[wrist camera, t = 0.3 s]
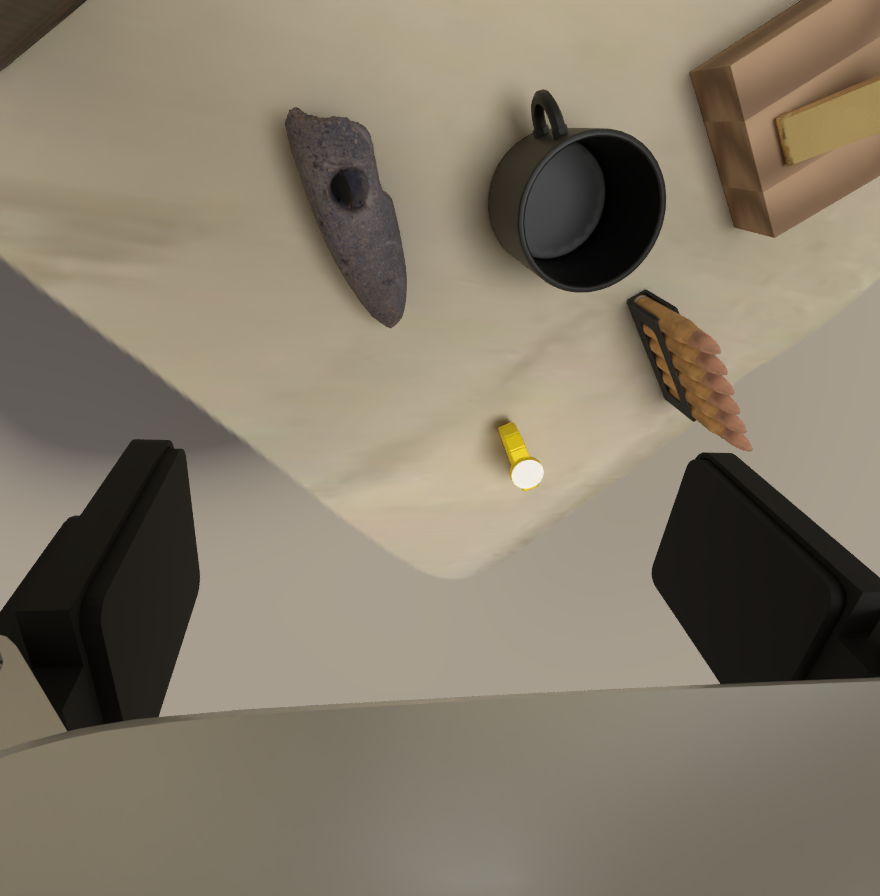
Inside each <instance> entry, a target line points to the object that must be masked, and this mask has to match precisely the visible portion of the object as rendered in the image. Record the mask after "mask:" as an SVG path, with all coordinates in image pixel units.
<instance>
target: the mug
mask: <svg viewBox="0 0 880 896" xmlns="http://www.w3.org/2000/svg"><path fill="white" fill-rule="evenodd" d="M544 110H545V112H546V114H547V116H548V118H549V121H550V124H551V127H552V128H551V129H549V127H548V125H546V121H545V115H544ZM531 113H532V121H533V126H534V131H533V134H531V135H529V136H527V137H525V138H524V139H522V140H521V141H520V142H518V143H517V144H516V145H515V146H514V147H513V148H512V149H511V150H510V151H509V152H508V153H507V154H506V155H505V157H504V158H503V160H502V161H501V163H500V164H499V166H498V168H497V170H496V172H495V175H494V177H493V180H492V183H491V188H490V193H489V216H490V221H491V225H492V228H493V231H494V233H495V235H496V237H497V239H498V240H499V242H500V244H501V245H502V246H503V247H504V248H505V250H506V251H507V252H508V253H510V254H511V255H512V256H513V257H515V258H516V259H517V260H519V261H520V262H521V263H522V264H524V265H525V266H526V267H527V268H529V269H530V270H531V271H533V272H534V273H535V274H536V275H538V276H539V277H540V278H542V279H543V280H544V281H545V282H547V283H549V284H550V285H552V286H554V287H556V288H559V289H562V290H565V291H570V292H592V291H597V290H601V289H604V288H607V287H610V286H612V285H614V284H615V283H617V282H619V281H621V280H622V279H624V278H625V277H627V276H628V275H630V274H631V273H632V272H633V271H634V270H635V269H636V268H637V267H638V266H639V265H640V264H641V263H642V262H643V260H644V259H645V258H646V257H647V255H648V254H649V252H650V251H651V249H652V248H653V246H654V244H655V242H656V240H657V238H658V236H659V233H660V230H661V227H662V224H663V220H664V215H665V210H666V190H665V183H664V179H663V175H662V172H661V169H660V167H659V165H658V162H657V161H656V159H655V158H654V156H653V155H652V153H651V152H650V151H649V149H648V148H647V147H646V146H645V145H644V144H643V143H642V142H640V141H639V140H637V139H636V138H634V137H633V136H631V135H629V134H627V133H624V132H622V131H618V130H613V129H600V128H567V125H565V123H564V120H563V116H562V114H561V111H560V109H559V106H558V104H557V103H556V101H555V99H554V98H553V97H552V95H551V94H550V93H549V92H548V91H547V90H539V91H537V92H536V93H535V94H534V97H533V100H532V104H531Z"/></svg>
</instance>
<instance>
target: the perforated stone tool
mask: <svg viewBox="0 0 880 896" xmlns="http://www.w3.org/2000/svg"><path fill="white" fill-rule="evenodd" d="M285 126H286V130H287V135H288V139H289V143H290V147H291V150H292V153H293V156H294V159H295V161H296V165H297V168H298V171H299V174H300V177H301V180H302V184H303V187H304V189H305V192H306V195H307V197H308V200H309V203H310V205H311V208H312V211H313V213H314V216H315V218H316V221H317V223H318V225H319V228H320V230H321V232H322V234H323V237H324V239H325V241H326V243H327V246H328V248H329V250H330V252H331V254H332V256H333V258H334V260H335V262H336V263H337V265H338V266H339V268H340V270H341V272H342V274H343V276H344V277H345V279H346V280H347V282H348V284H349V285H350V287H351V288H352V289H353V291H354V292H355V294H356V295H357V297H358V298H359V300H360V302H361V303H362V304H363V306H364V307H365V308H366V309H367V311H368V312H369V313H370V314H371V316H372V317H374V318H375V319H376V320H378V321H379V322H380V323H382V324H383V325H385V326H386V327H389V328H392V327H393V326H395V325H396V324H397V323H398V322H399V321H400V319H401V318H402V316H403V312H404V308H405V302H406V290H407V286H406V285H407V276H406V265H405V259H404V253H403V248H402V242H401V237H400V231H399V227H398V222H397V218H396V213H395V209H394V205H393V201H392V198H391V197H390V196H389V195H388V194H387V193H386V192H384V191H383V190H382V187H381V184H380V181H379V177H378V171H377V166H376V160H375V156H374V150H373V143H372V141H371V136H370V133H369V132H368V131H367V129H366V127H364V126H363V125H361V124H359V123H358V122H354V121H350V120H349V119H348V118H347V117H346V118H341V117H335V116H333V117H330V118H319V117H317V116H313V115H307V114H306V113H304V112H303V111H301V110H300V109H299V108H297V107H295V108H293V109H292V110H289V113H288V115H287V118H286V121H285Z"/></svg>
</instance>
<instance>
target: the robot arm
mask: <svg viewBox="0 0 880 896" xmlns="http://www.w3.org/2000/svg"><path fill="white" fill-rule="evenodd" d="M652 579H653V582H654V585H655V587H656V588H657V589H658V591H659V593H660V594H661V596H662V597H663V598H664V600H665V601H666V603H667V604H668V606H669V607H670V609H671V610H672V612H673V613H674V615H675V616H676V618H677V619H678V621H679V622H680V624H681V625H682V627H683V628H684V630H685V631H686V633H687V634H688V636H689V637H690V639H691V640H692V642H693V643H694V645H695V646H696V648H697V649H698V651H699V652H700V654H701V655H702V657H703V658H704V660H705V661H706V662H707V664H708V665H709V667H710V669H711V670H712V672H713V673H714V675H715V676H716V678H717V679H718V681H719V682H720V684H714V685H690V686H669V687H650V688H649V687H648V688H628V689H608V690H588V691H568V692H548V693H529V694H509V695H490V696H472V697H454V698H436V699H419V700H400V701H382V702H364V703H349V704H348V703H347V704H329V705H311V706H297V707H279V708H262V709H248V710H247V709H246V710H232V711H221V712H211V713H200V714H190V715H179V716H167V717H159V714H160V710H161V707H162V704H163V701H164V698H165V695H166V692H167V689H168V685H169V682H170V679H171V676H172V673H173V670H174V667H175V664H176V660H177V657H178V654H179V651H180V648H181V645H182V642H183V639H184V635H185V632H186V629H187V626H188V623H189V620H190V617H191V614H192V610H193V607H194V604H195V601H196V598H197V595H198V590H199V583H200V571H199V562H198V554H197V546H196V537H195V529H194V520H193V512H192V503H191V495H190V487H189V478H188V470H187V462H186V455H185V452H184V450H183V449H174V446H173V444H172V442H171V441H170V440H141V439H138V440H137V439H135V440H132V441H131V442H130V444H129V445H128V447H127V448H126V450H125V451H124V452H123V454H122V455H121V457H120V458H119V460H118V462H117V463H116V464H115V466H114V467H113V469H112V470H111V471H110V473H109V474H108V476H107V477H106V479H105V480H104V482H103V483H102V484H101V486H100V487H99V489H98V491H97V492H96V493H95V495H94V496H93V498H92V499H91V501H90V502H89V504H88V505H87V507H86V508H85V509H84V511H83V512H82V514H81V515H80V516H73V517H69V518H68V519H67V521H65V522H64V523H63V525H62V526H61V528H60V529H59V530H58V532H57V533H56V535H55V536H54V537H53V539H52V540H51V542H50V543H49V544H48V546H47V547H46V549H45V550H44V551H43V553H42V554H41V556H40V557H39V558H38V560H37V561H36V563H35V564H34V565H33V567H32V568H31V570H30V571H29V572H28V574H27V575H26V577H25V578H24V579H23V581H22V582H21V584H20V585H19V586H18V588H17V589H16V591H15V592H14V594H13V595H12V596H11V598H10V599H9V600H8V602H7V603H6V605H5V606H4V607H3V609H2V610H1V612H0V896H880V578H879V577H878V576H877V575H876V574H875V573H874V572H872V571H871V570H870V569H869V568H868V567H867V566H865V565H864V564H863V563H862V562H861V561H860V560H858V559H857V558H856V557H855V556H854V555H853V554H851V553H850V552H849V551H848V550H847V549H845V548H844V547H843V546H842V545H841V544H840V543H838V542H837V541H836V540H835V539H834V538H832V537H831V536H830V535H829V534H828V533H827V532H825V531H824V530H823V529H822V528H821V527H820V526H818V525H817V524H816V523H815V522H814V521H812V520H811V519H810V518H809V517H808V516H807V515H805V514H804V513H803V512H802V511H801V510H799V509H798V508H797V507H796V506H795V505H793V504H792V503H791V502H790V501H789V500H788V499H787V498H785V497H784V496H783V495H782V494H780V493H779V492H778V491H777V490H776V489H775V488H774V487H772V486H771V485H770V484H769V483H768V482H766V481H765V480H764V479H763V478H762V477H761V476H759V475H758V474H757V473H756V472H755V471H754V470H752V469H751V468H750V467H749V466H747V465H746V464H745V463H744V462H743V461H742V460H741V459H739V458H738V457H737V456H736V455H734V454H732V453H701V454H699V455H698V456H697V457H696V458H695V460H692V461H690V462H689V464H688V465H687V468H686V470H685V473H684V476H683V479H682V482H681V485H680V488H679V491H678V494H677V497H676V499H675V503H674V505H673V508H672V511H671V514H670V517H669V520H668V523H667V526H666V529H665V532H664V534H663V537H662V540H661V543H660V546H659V549H658V552H657V555H656V558H655V561H654V563H653V567H652Z"/></svg>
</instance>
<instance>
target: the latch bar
mask: <svg viewBox="0 0 880 896" xmlns="http://www.w3.org/2000/svg"><path fill="white" fill-rule="evenodd" d="M776 123H777V128H778V132H779V136H780V141H781V145H782V149H783V154H784V158H785V162H786V166H787V167H791V166H794V165H797V164H799V163H800V162H802V161H804V160H806V159H809V158H812V157H815V156H817V155H820V154H823V153H826V152H828V151H831V150H834V149H837V148H839V147H842V146H845V145H848V144H850V143H853V142H856V141H858V140H861V139H864V138H867V137H869V136H872V135H875V134H878V133H880V75H878V76H876V77H873V78H871V79H869V80H866V81H864V82H861V83H859V84H856V85H854V86H852V87H849V88H847V89H844V90H842V91H840V92H837V93H835V94H832V95H830V96H828V97H825V98H823V99H820V100H818V101H816V102H813V103H811V104H808V105H806V106H804V107H801V108H799V109H796V110H794V111H788V112H785V113H783V114H781V115H779V116H778V117H777V118H776Z"/></svg>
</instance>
